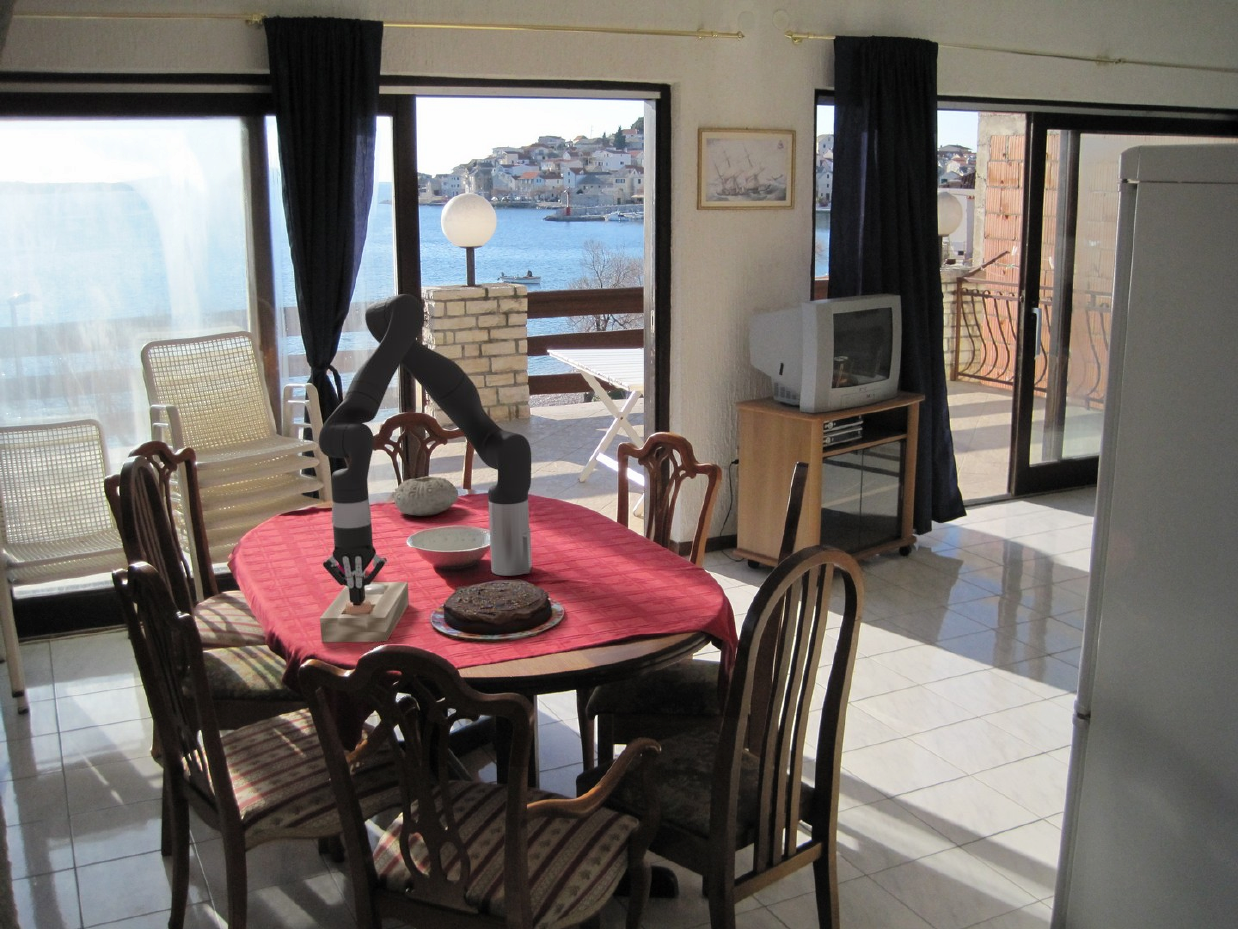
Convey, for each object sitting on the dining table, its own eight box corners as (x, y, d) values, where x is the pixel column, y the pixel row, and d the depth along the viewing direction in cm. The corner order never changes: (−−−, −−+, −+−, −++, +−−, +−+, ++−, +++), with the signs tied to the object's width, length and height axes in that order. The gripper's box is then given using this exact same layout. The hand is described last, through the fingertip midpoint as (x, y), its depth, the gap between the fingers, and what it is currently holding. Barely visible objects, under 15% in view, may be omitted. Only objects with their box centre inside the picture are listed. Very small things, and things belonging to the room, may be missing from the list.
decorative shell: (397, 506, 336) (395, 472, 334) (459, 503, 338) (458, 469, 336) (392, 522, 319) (390, 487, 316) (458, 519, 321) (456, 484, 318)
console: (409, 604, 254) (407, 582, 253) (386, 641, 232) (384, 617, 231) (349, 604, 254) (348, 582, 253) (321, 642, 233) (319, 618, 232)
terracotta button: (374, 615, 239) (373, 599, 239) (368, 624, 234) (367, 608, 234) (350, 615, 239) (349, 600, 239) (343, 624, 235) (342, 608, 234)
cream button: (387, 599, 251) (386, 584, 250) (382, 607, 246) (381, 591, 245) (364, 599, 251) (363, 584, 251) (358, 607, 246) (357, 591, 246)
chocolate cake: (452, 653, 226) (450, 621, 225) (414, 609, 251) (413, 580, 250) (585, 630, 238) (584, 599, 236) (537, 590, 263) (536, 562, 261)
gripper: (389, 516, 236) (394, 597, 240) (324, 516, 236) (330, 598, 240) (380, 526, 228) (386, 610, 232) (313, 526, 229) (320, 610, 233)
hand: (357, 604), depth 236 cm, fingers closed
